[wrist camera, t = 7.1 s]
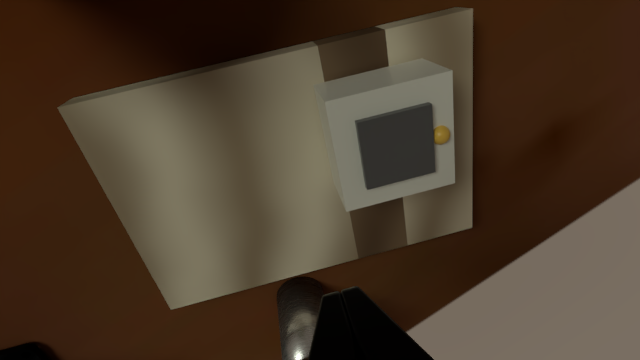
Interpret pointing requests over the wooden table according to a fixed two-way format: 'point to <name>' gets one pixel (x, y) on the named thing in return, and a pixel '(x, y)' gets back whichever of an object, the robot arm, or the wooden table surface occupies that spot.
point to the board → (264, 161)
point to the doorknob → (298, 316)
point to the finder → (389, 131)
